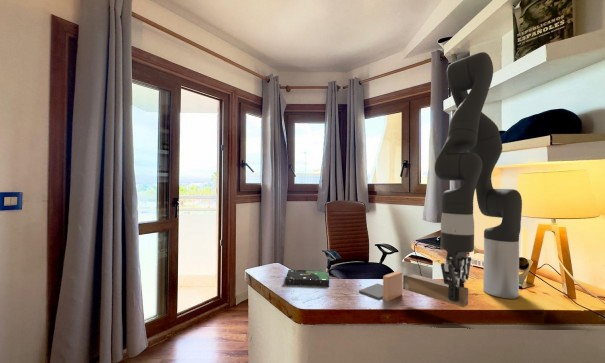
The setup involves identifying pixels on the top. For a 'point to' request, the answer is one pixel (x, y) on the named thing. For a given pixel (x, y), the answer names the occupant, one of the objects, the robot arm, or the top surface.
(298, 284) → the disk drive
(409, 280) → the block
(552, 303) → the top surface
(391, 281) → the tile
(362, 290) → the mat
